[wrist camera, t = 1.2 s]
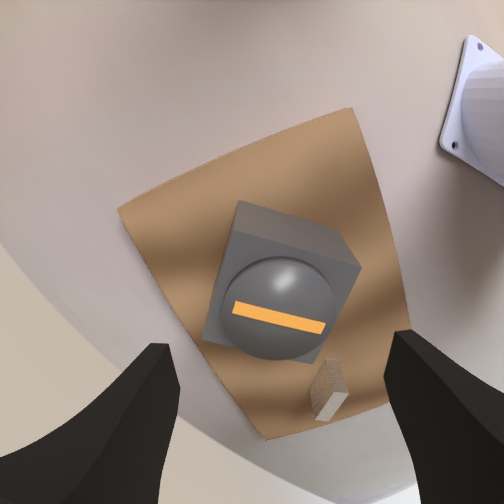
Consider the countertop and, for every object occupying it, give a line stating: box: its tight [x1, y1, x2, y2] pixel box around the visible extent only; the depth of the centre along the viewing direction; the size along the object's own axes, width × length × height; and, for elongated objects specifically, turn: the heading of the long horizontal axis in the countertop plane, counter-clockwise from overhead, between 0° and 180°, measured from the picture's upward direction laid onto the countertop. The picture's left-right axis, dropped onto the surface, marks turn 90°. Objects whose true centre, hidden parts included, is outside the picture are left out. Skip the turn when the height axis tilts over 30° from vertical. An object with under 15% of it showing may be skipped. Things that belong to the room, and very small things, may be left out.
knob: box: [202, 200, 362, 365], centre depth 15 cm, size 5×5×5 cm
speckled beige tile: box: [309, 359, 349, 421], centre depth 19 cm, size 1×3×3 cm, turn 163°
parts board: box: [117, 108, 410, 441], centre depth 19 cm, size 21×13×1 cm, turn 23°
